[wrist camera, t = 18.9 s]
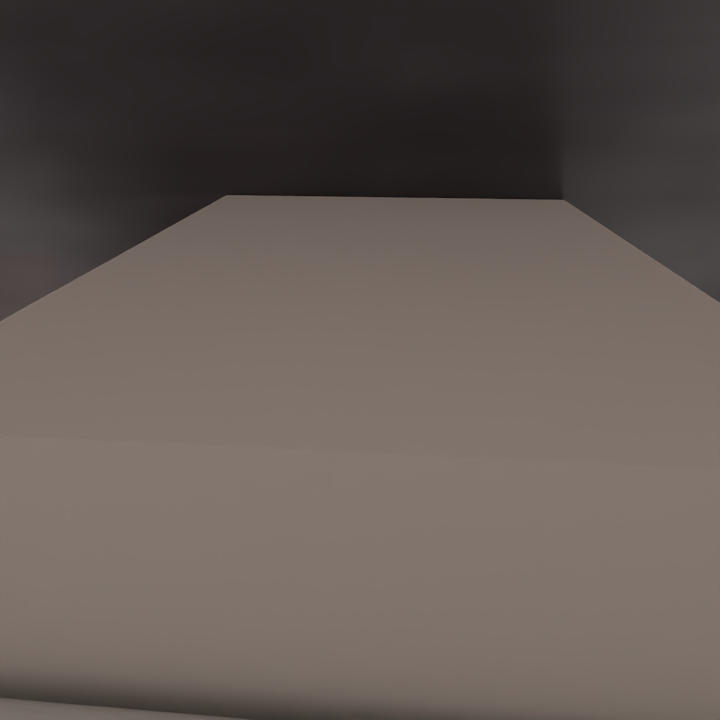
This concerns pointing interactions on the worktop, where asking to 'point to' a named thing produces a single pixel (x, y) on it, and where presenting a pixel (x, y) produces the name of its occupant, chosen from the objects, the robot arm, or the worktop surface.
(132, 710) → the robot arm
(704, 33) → the worktop surface
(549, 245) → the cream cube
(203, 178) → the worktop surface
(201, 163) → the worktop surface
